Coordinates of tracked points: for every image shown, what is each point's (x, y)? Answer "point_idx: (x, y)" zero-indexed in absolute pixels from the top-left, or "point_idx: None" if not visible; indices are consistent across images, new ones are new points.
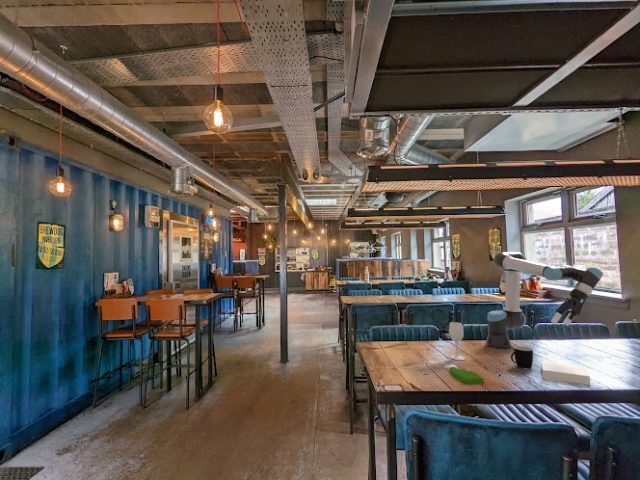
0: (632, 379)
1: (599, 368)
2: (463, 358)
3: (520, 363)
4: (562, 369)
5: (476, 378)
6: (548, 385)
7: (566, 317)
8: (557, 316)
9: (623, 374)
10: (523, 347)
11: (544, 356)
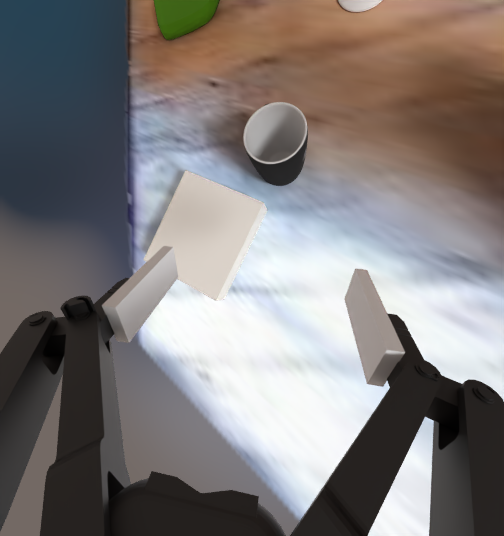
0: (192, 396)
1: (277, 386)
2: (349, 3)
3: (266, 146)
4: (189, 223)
5: (156, 14)
6: (155, 170)
7: (143, 271)
8: (366, 331)
9: (227, 409)
10: (300, 145)
11: (414, 293)
